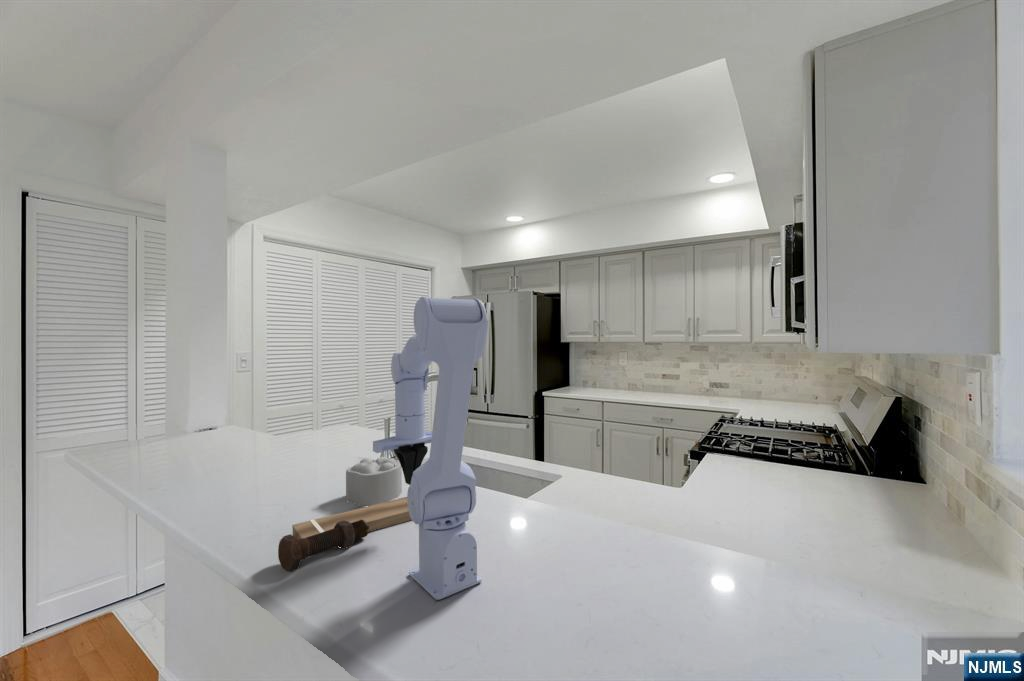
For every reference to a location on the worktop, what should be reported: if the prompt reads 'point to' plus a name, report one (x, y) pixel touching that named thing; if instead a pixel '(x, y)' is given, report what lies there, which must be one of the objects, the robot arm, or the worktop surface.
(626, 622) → the worktop surface
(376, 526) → the walnut board
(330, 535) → the bolt
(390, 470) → the lumpy-topped squat cylinder
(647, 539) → the worktop surface
